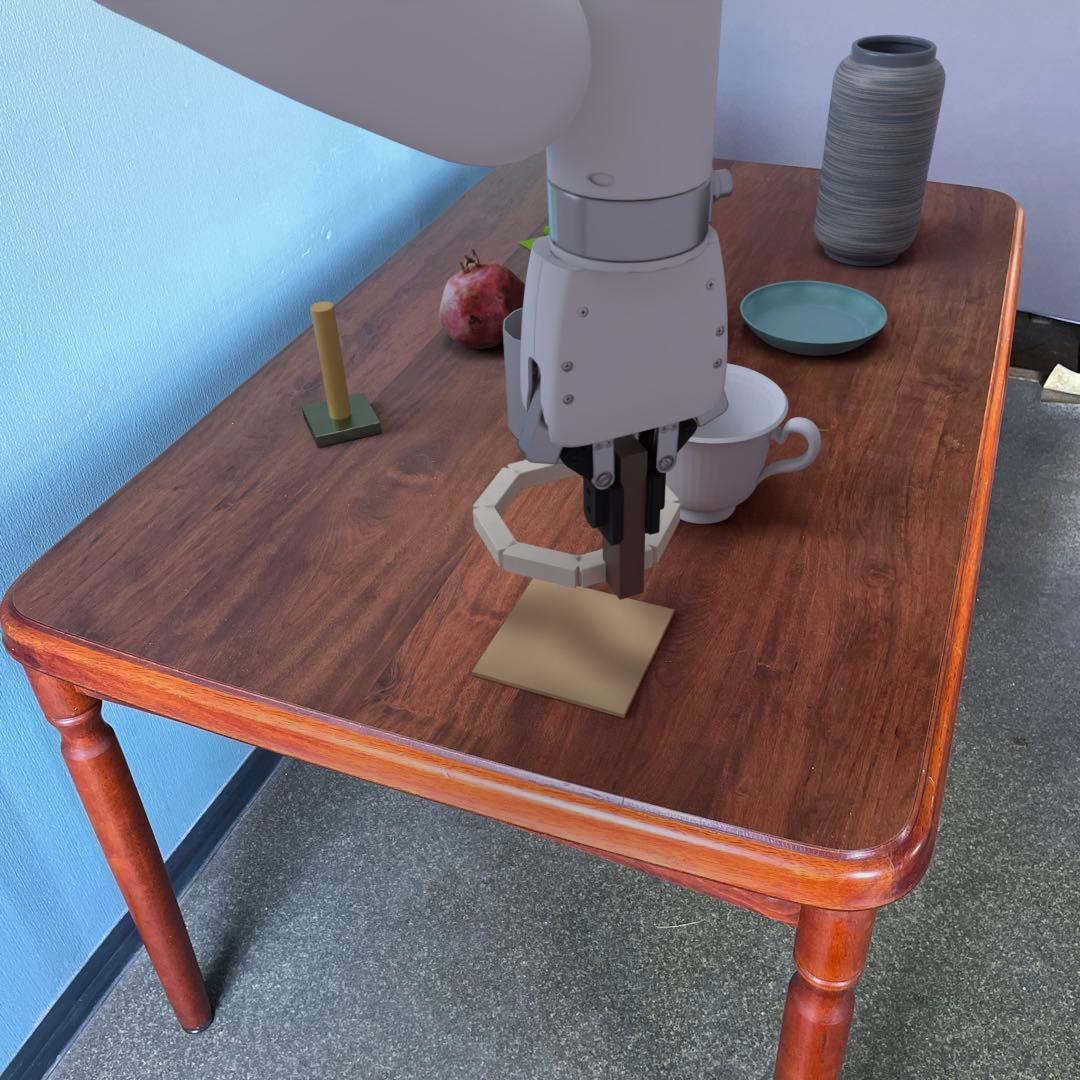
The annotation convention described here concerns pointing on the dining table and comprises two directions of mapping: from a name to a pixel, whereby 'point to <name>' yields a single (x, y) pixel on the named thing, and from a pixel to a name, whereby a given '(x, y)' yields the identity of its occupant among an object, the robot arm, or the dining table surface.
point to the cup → (513, 372)
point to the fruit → (480, 303)
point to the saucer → (812, 316)
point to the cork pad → (576, 646)
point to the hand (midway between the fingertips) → (623, 524)
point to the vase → (878, 148)
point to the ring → (612, 562)
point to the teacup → (737, 449)
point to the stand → (336, 389)
